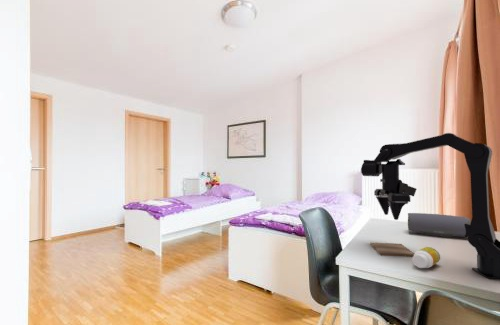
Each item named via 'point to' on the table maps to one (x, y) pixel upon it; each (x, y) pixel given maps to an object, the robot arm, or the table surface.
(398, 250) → the walnut base
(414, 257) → the supplement bottle
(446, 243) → the table surface
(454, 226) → the bluetooth speaker
